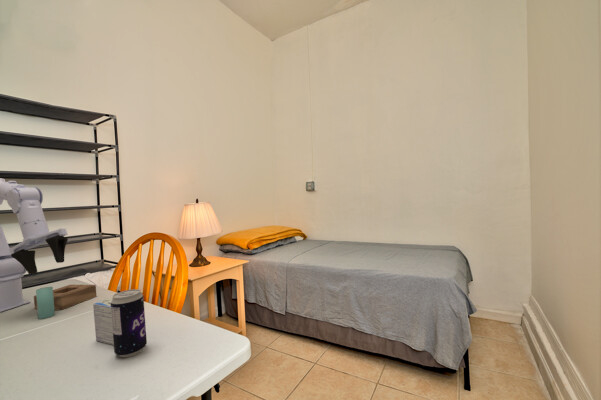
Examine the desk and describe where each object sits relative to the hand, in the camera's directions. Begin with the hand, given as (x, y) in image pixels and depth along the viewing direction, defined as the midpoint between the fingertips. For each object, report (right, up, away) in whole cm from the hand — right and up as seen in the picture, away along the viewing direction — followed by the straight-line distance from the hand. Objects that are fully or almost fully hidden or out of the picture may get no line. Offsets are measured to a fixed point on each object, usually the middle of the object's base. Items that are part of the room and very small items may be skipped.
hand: (47, 267), depth 80 cm
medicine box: (+32, -12, -18) cm, 38 cm away
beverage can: (+39, -12, -23) cm, 47 cm away
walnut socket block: (-3, -14, +10) cm, 17 cm away
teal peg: (+1, -14, -1) cm, 14 cm away
